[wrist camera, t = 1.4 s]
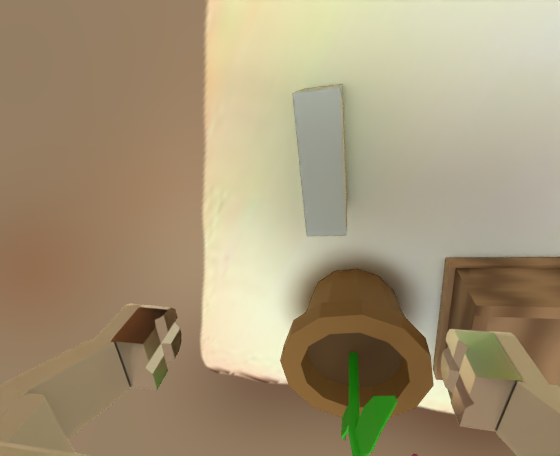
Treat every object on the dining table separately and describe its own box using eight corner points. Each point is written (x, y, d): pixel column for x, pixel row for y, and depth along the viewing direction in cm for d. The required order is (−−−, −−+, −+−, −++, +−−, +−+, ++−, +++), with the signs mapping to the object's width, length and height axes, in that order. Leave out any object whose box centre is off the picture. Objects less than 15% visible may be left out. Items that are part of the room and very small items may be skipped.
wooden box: (679, 256, 30) (773, 309, 23) (619, 382, 37) (678, 450, 30) (445, 257, 34) (468, 302, 28) (433, 369, 41) (448, 426, 35)
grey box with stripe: (303, 88, 30) (291, 93, 24) (343, 83, 29) (341, 87, 23) (313, 206, 35) (306, 236, 29) (347, 205, 34) (346, 235, 28)
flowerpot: (403, 353, 41) (498, 856, 15) (294, 337, 44) (210, 743, 17) (425, 260, 35) (662, 851, 8) (296, 247, 37) (168, 673, 11)
